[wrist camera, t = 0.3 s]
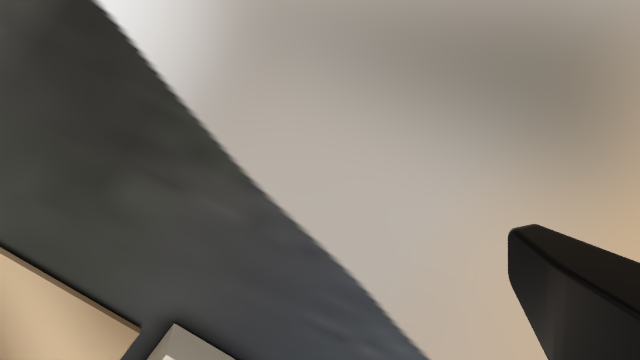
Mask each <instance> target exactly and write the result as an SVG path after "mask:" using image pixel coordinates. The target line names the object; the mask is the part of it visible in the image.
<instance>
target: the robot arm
mask: <svg viewBox="0 0 640 360" xmlns="http://www.w3.org/2000/svg"><path fill="white" fill-rule="evenodd" d="M508 274H509V279H510V283H511V286H512V288H513V290H514V292H515V294H516V296H517V298H518V300H519V302H520V304H521V306H522V308H523V310H524V312H525V314H526V316H527V318H528V320H529V322H530V324H531V326H532V328H533V330H534V332H535V334H536V336H537V338H538V340H539V342H540V344H541V346H542V348H543V350H544V352H545V354H546V356H547V358H548V360H640V263H638V262H636V261H633V260H630V259H628V258H625V257H623V256H620V255H617V254H615V253H611V252H609V251H606V250H604V249H601V248H599V247H596V246H593V245H591V244H588V243H585V242H583V241H580V240H577V239H575V238H572V237H569V236H566V235H564V234H561V233H559V232H556V231H553V230H551V229H548V228H545V227H543V226H540V225H537V224H531V225H527V226H522V227H517V228H513V229H512V230H511V231H510V232H509V235H508Z"/></svg>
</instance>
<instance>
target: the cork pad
mask: <svg viewBox="0 0 640 360" xmlns="http://www.w3.org/2000/svg"><path fill="white" fill-rule="evenodd" d="M140 331H141V329H140V328H139V327H137V326H135V325H133V324H132V323H130V322H128V321H127V320H125V319H123V318H121V317H120V316H118V315H116V314H114V313H113V312H111V311H109V310H108V309H106V308H104V307H102V306H101V305H99V304H97V303H96V302H94V301H92V300H90V299H89V298H87V297H85V296H83V295H82V294H80V293H78V292H77V291H75V290H73V289H71V288H70V287H68V286H66V285H64V284H63V283H61V282H59V281H58V280H56V279H54V278H52V277H51V276H49V275H47V274H45V273H44V272H42V271H40V270H39V269H37V268H35V267H33V266H32V265H30V264H28V263H27V262H25V261H23V260H21V259H20V258H18V257H16V256H14V255H13V254H11V253H9V252H8V251H6V250H4V249H2V248H1V247H0V360H120V359H121V358H122V356H123V355H124V354H125V352H126V351H127V350H128V348H129V347H130V346H131V344H132V343H133V342H134V340H135V339H136V338H137V336H138V335H139V334H140Z"/></svg>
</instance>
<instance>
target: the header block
mask: <svg viewBox="0 0 640 360" xmlns="http://www.w3.org/2000/svg"><path fill="white" fill-rule="evenodd" d="M147 360H235V359H234V358H232V357H230V356H229V355H227V354H225V353H224V352H222V351H220V350H219V349H217V348H215V347H213V346H212V345H210V344H208V343H207V342H205V341H203V340H202V339H200V338H198V337H197V336H195V335H193V334H192V333H190V332H188V331H186V330H185V329H183V328H181V327H180V326H178V325H176V324H175V323H174V324H173V325H172V327H171V328H170V329H169V331H168V332H167V333H166V335H165V336H164V337H163V339H162V340H161V341H160V342H159V344H158V345H157V346H156V348H155V349H154V350H153V352H152V353H151V354H150V356H149V357H148V358H147Z"/></svg>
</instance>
